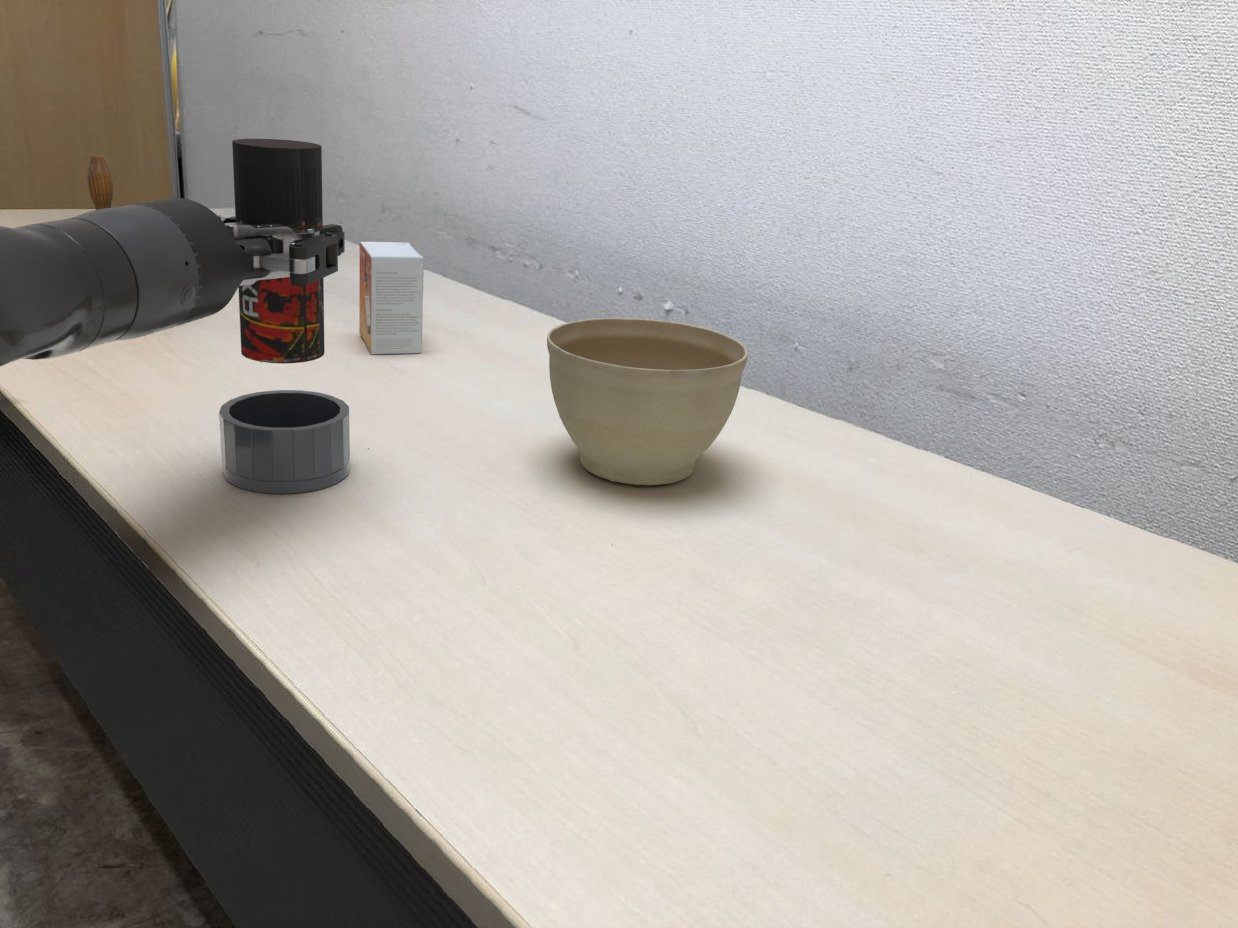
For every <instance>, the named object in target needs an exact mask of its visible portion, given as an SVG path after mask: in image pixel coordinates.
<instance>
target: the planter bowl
mask: <svg viewBox="0 0 1238 928" xmlns="http://www.w3.org/2000/svg"><path fill="white" fill-rule="evenodd" d="M546 336H547V338H546V347H547V352H548V356H549V361H548V369H549V370H548V371H549V380H550V381H549V383H550V387H551V388H550V389H551V393H552V398H553V401H554V404H555V408H556V410H557V413H558V416H559V419H560V420H561V423H562V424H563V427H564V429H565V430H566V432H567V434H568V436H569V437H570V439H571V441H572V442H573V444H574V445H575V446H576V447H577V449H578V455H579V461H580V464H581V466H582V467H583V468H584V469H585V470H586V471H587V472H589V473H591V474H593V475H594V476H597V477H599V478H602V479H605V480H608V481H610V482H613V483H616V482H617V483H621V484H627V485H634V486H635V485H636V486H659V485H661V486H662V485H667V484H668V485H669V484H672V483H673V484H675V483H677V482H680V481H683V480H685V479H687V478H688V477H690V476H691V475H692V474H693V471H694V470H695V466H696V463H697V460H698V459H699V458H700V457H702V455H703V454H704V453H706V451H707V450H708V449H709V448H710V447H711V446H712V444H713V443H714V442H715V441H716V439H717V438H718V436H719V435H720V433H721V432H722V431H723V429H724V427H725V425H726V424H727V422H728V420H729V418H730V416H731V414H732V412H733V410H734V407H735V405H736V402H737V400H738V399H737V398H738V395H739V391H740V388H741V384H742V378H743V372H744V370H745V368H746V366H747V362H748V358H749V349H748V347H746V344H744V343H743V342H742V341H740V340H738V339H737V338H735V337H733V336H731V335H729V334H726V333H722V332H721V331H718V330H715V329H711V328H708V327H703V326H699V325H693V324H688V323H683V322H676V321H670V320H669V321H668V320H661V319H649V318H634V317H597V318H586V319H578V320H573V321H570V322H569V321H568V322H566V323H562V324H559V325H556V326H555V327H553V328H551V329H550V330H549V331H548V332H547V335H546Z"/></svg>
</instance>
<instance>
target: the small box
mask: <svg viewBox="0 0 1238 928" xmlns="http://www.w3.org/2000/svg"><path fill="white" fill-rule="evenodd" d="M424 272H425V257H423V256H422V255H421V254H420V253H419V252H418V251H417V250H416V249H415V248H414V247H413V246H412V244H411V243H410V242H401V241H400V242H396V241H359V297H358V298H359V299H358V301H359V304H358V305H359V307H358V309H359V313H358V314H359V317H358V318H359V321H358V322H359V323H358V324H359V326H358V327H359V329H358V330H359V335H360V336H361V338H362V340H363V341H364V343H365V345H366V347H367V349H368V351H369V354H370V355H398V354H399V355H401V354H403V355H404V354H405V355H406V354H422V351H423V316H424V315H423V312H424Z"/></svg>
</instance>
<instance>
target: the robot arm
mask: <svg viewBox="0 0 1238 928" xmlns="http://www.w3.org/2000/svg"><path fill="white" fill-rule="evenodd" d="M269 235H272V236H273V252H274V254H273V253H272V252H271V247H270V243H269V240H268V239H267V238H266V237H265V236H269ZM345 239H346V238H345V231H344V230H343V227H342V225H340V224H334V223H329V224H323V226H320V227H316V228H307V229H304V230H291V228H289V227H286V226H283V225H280V224H266V225H247V224H244V223H240V222H236V218H235V215H234V216H230V217H229V216H228V217H226V216H223V215H221V214H217V213H215V212H214V211H213V210H212V209H210V208H208V207H207V206H205V205H204V204H202V203H200V202H198V201H196V200H191V199H188V198H181V197H173V198H167V199H160V200H159V199H158V200H153V201H145V202H140V203H133V204H125V205H119V206H111V208H105V209H99V210H96V209H95V210H91V211H88V212H84V213H81V214H79V215H76V216H73V217H70V218H65V219H58V220H50V221H45V222H38V223H32V224H25V225H21V226H16V227H8V226H2V225H0V367H3V366H5V365H8V364H10V363H13V362H16V361H18V360H22V359H25V360H32V361H34V360H35V361H36V360H48V359H49V360H50V359H54V358H55V359H56V358H59V357H64V356H67V355H72V354H75V353H78V352H81V351H84V350H88V349H91V348H94V347H98V346H100V345H104V344H107V343H113V342H116V341H127V340H134V339H139V338H143V337H147V336H149V335H152V334H156V333H159V332H162V331H166V330H168V329H172V328H175V327H178V326H182V325H185V324H188V323H192V322H194V321H198V320H201V319H204V318H207V317H210V316H213V315H216V314H217V313H219V312H221V311H222V310H223V309H224V308H226V307H227V305H228V304H229V303H230V302H231V301H232V299H233V297H234V295H235V294H236V292H237V290H239V288H238V287H239V286H243V285H252V284H254V283H255V282H256V281H257V280H265V279H275V278H285V277H290V284H292V285H296V286H298V287H302V286H304V285H308V284H311V283H313V282H315V281H317V280H319V279H322V278H323V279H324V278H326V277H328V276H331V275H333V274H336V273H337V272H338V271H339V256H341V255H342V254H344V253H345V250H346V249H345V247H346V245H345V242H346V241H345ZM296 240H302V241H300V242H294V241H296Z"/></svg>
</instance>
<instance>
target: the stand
mask: <svg viewBox="0 0 1238 928" xmlns="http://www.w3.org/2000/svg"><path fill="white" fill-rule="evenodd" d="M218 418H219V419H218V421H219V438H220V456H221V463H222V474H223V477H224V478H225V480H227V481H228V482H229V483H230V484H232V485H233V486H235V487H237V488H240V489H243V490H246V491H251V492H255V493H260V494H261V493H262V494H273V495H277V494H278V495H286V494H287V495H288V494H291V495H292V494H301V493H309V492H314V491H320V490H323V489H326V488H329V487H331V486H334V485H336V484H338V483H340V482H342V481H343V480H345V478H346V477H347V476H348V475H349V473H350V470H351V449H350V448H351V447H350V446H351V443H350V441H351V440H350V438H351V437H350V436H351V435H350V406H349V405H348V404H347V402H345V400H342V399H341V398H338V397H336V396H334V395H330V394H327V393H322V392H318V391H310V390H300V389H299V390H298V389H275V390H265V391H257V392H253V393H246V394H242V395H240V396H237V397H235V398H231V399H229V400H227V401H226V402H225V403H223V404H222V405H221V406H220V409H219V411H218Z"/></svg>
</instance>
